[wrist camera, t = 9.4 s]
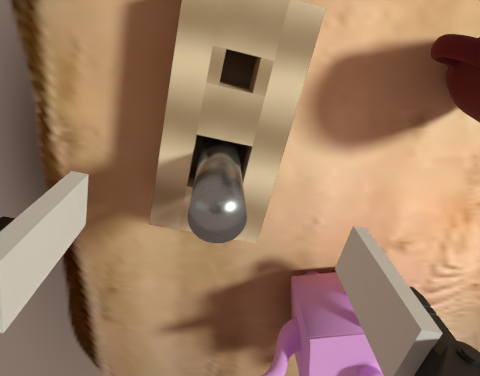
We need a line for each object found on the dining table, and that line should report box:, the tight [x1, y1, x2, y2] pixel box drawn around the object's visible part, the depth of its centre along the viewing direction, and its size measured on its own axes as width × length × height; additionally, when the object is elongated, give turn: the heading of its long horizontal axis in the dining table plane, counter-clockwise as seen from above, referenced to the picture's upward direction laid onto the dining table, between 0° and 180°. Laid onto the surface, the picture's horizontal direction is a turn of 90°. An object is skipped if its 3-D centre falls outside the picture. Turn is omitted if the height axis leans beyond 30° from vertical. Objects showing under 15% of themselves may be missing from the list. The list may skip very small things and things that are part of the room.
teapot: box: [262, 271, 384, 376], centre depth 32 cm, size 15×13×11 cm
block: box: [149, 0, 326, 243], centre depth 26 cm, size 18×9×5 cm, turn 167°
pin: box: [187, 137, 247, 243], centre depth 23 cm, size 3×3×12 cm
